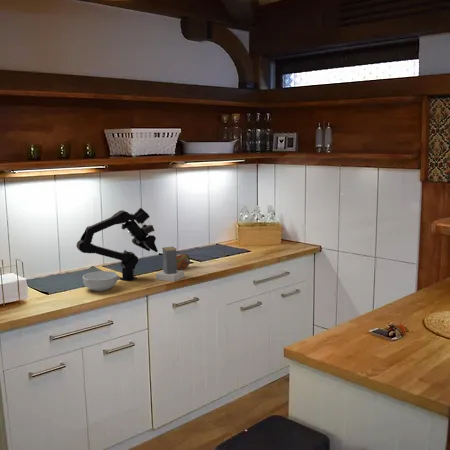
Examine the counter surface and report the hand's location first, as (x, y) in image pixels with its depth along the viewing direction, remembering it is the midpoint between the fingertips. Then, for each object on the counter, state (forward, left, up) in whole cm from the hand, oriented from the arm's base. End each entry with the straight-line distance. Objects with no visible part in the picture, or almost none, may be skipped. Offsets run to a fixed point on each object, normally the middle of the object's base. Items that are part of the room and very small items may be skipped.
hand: (153, 251), depth 294 cm
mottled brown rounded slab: (+19, -5, -14) cm, 24 cm away
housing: (0, -10, -11) cm, 15 cm away
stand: (0, -10, -14) cm, 17 cm away
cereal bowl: (-32, +11, -14) cm, 37 cm away
